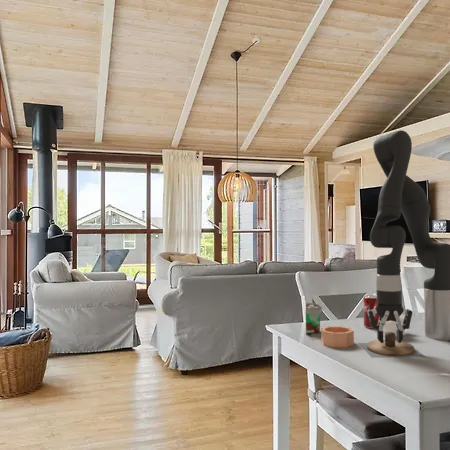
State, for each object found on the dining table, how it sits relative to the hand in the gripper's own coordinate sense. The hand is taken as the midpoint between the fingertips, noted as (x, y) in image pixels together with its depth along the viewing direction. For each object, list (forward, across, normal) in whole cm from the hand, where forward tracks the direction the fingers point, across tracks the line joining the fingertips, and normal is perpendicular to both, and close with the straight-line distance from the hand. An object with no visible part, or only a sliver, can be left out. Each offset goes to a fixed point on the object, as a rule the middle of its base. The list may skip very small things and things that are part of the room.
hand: (390, 342), depth 138 cm
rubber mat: (+3, 0, 0) cm, 3 cm away
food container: (+3, +20, -26) cm, 33 cm away
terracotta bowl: (+3, +15, -8) cm, 17 cm away
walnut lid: (+2, 0, 0) cm, 2 cm away
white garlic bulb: (+3, -8, -18) cm, 20 cm away
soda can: (+3, -4, -33) cm, 33 cm away
